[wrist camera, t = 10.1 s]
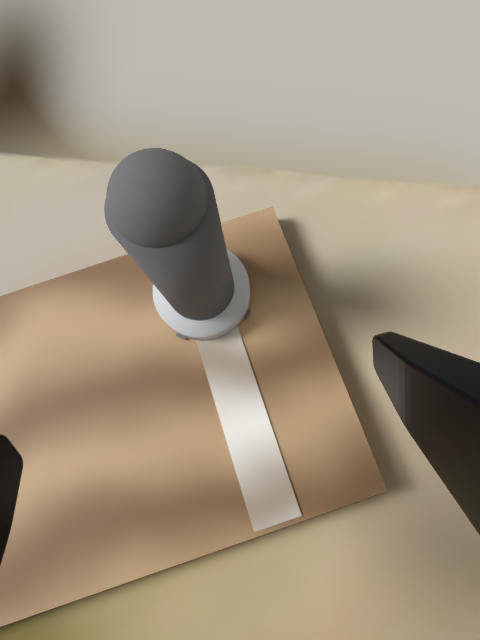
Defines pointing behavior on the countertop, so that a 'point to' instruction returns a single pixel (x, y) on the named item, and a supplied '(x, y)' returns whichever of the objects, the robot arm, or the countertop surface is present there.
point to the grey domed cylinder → (177, 242)
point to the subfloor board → (166, 425)
